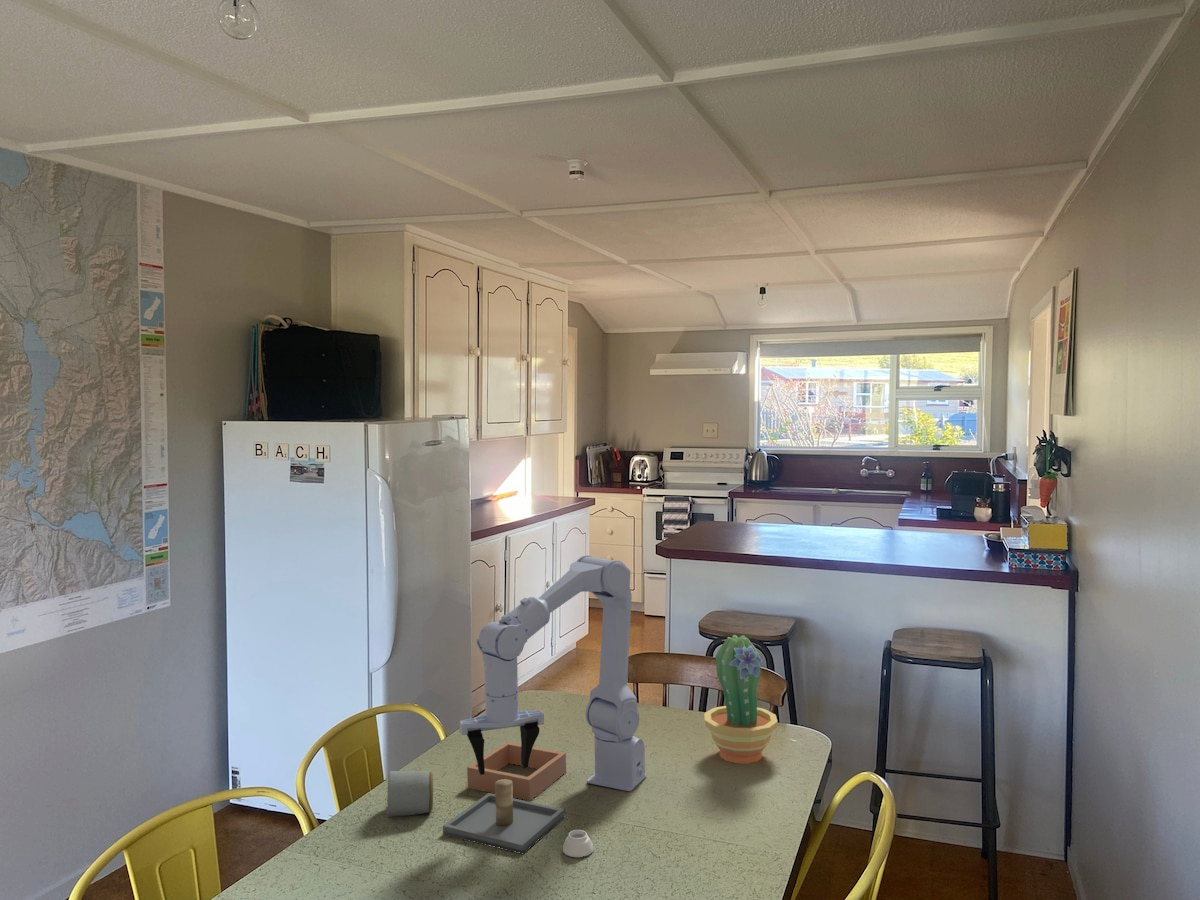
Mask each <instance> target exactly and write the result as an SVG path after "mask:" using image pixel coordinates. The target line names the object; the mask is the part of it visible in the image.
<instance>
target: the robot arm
mask: <svg viewBox="0 0 1200 900" xmlns="http://www.w3.org/2000/svg"><path fill="white" fill-rule="evenodd" d="M630 585H631V570H630V568H629V567H627V566H626V564H624V562H622V560H621V561H620V560H618V559H614V560H613V559H607V558H600V557H594V556H592V555H587V554H586V555H582V556H580V557H579V558H578V559H577V560H576V561H573V562H572V563H571V564H570V565H569V570H568V571H566V573H564V574H563V575H562V576H561V577H560V578H559V579H558V580H557V581H556V582H555V583H553V585H551V586H550V587H548V589H546V591H545V592H543V594H541V595H540V596H539V597H535V596H530V597H529V596H528V598H527V597H524V598H521V600H520V601H519V602H520V604H519V605H517V606H516V607H515V608H514V609H512V610H511V611H510V612H508V613H507V614H503V615H502V616H501V618H500V619H499V620H498V621H491V622H488V623H486V624H485V625H484V627H482V629H481V630H480V632H479V635H478V638H477V639H476V645H477V648H478V650H479V652H480V653H481V654H482V662H483V663H484V668H483V669H484V699H485V700H484V701H485V702H484V704H485V705H484V706H485V711H484V712H485V714H483V715H482V714H481V715H479V716H476V717H471V718H467V719H462V720H459V732H460V734H461V736H465V735H466V737H467V738H468V740H469V742H470V744H471V747H472V750H473V753H474V755H475V760H476V761H477V764H478V771H479V773H480V775H483V774H485V767H484V756H485V755H484V754H485V753H484V752H485V751H484V750H485V739H484V737H483V733H482V732H485V731H493V730H501V729H508V728H509V729H510V728H515V727H519V730H520V743H521V744H520V745H521V764H522V766H521V767H523V768H524V769H527V768H528V763H529V758H530V754H531V751H532V748H533V747H534V745H535V743H536V741H537V738H538V737H539V734H540V727H539V726H540V725H541V726H543V725H545V718H544V717H545V714H544V712H543V711H542V710H541V709H539V710H519V677H518V675H519V671H518V657H520V655H521V653H522V652H523V651H524V647H525V644H526V643H527V642H528V640H529V639H530V638H531V637H533V636H534V635H535V634H536V633H538V632H539V631H540V630H541V629H543V628H544V627H545V626H546V625H547V624H549V622H550V618H551V613H552V612H553V611H554V612H555V610H556V609H558V608H560V607H561V606H562V605H564V604H566V603H567V602H569V601H570V600H571V599H573V598H574V597H575V596H577V595H578V594H580V593H581V592H583V593H584V592H585V593H586V592H588V593H589V592H590V593H592V594H593V596H595V597H596V598H597V599H598V601H600V602H601V603H602V605H603V606H602V623H601V626H602V627H601V641H600V642H601V643H600V658H599V659H600V661H599V681H598V685H596V686H595V687H594V688H592V689H591V690H590V694H589V701H588V703H587V705H586V709H585V719H586V723H587V724H588V725H589V726H590V727H591V733H592V734H594V737H593V738H594V739H593V740H594V741H593V742H594V774H593V775H591V776H590V777H589V778H588V779H587V780H586V783H587V784H591V785H596V786H600V787H606V788H610V789H611V788H612V789H615V790H621V791H626V792H632V791H633V790H634V789H635V788H636V786H638V785H639V784H640V783H641V782H642V781H643V780H644V779H645V778H646V777H647V773H646V768H645V767H646V765H645V764H646V763H645V762H646V758H645V757H646V756H645V751H646V750H645V743H644V740H643V739H642V738H638V737H637V736H635V735H634V734H636V732H637V730H638V727H639V725H640V713H639V710H638V699H637V697H636V695H635V694H634V692H633V691H632V690H631V689H630V687H629V686H628V677H629V676H628V674H629V655H630V654H629V653H630V635H631V620H632V619H631V616H632V613H631V612H632V599H633V597H632V591H631V587H630Z"/></svg>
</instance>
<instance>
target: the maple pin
mask: <svg viewBox="0 0 1200 900" xmlns="http://www.w3.org/2000/svg"><path fill="white" fill-rule="evenodd" d="M495 801H496V824H497V825H498V826H509V825H511V824H512V823H513V786H512V781H511V780H509V779H501V780H498V781H496V782H495Z"/></svg>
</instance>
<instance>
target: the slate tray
mask: <svg viewBox="0 0 1200 900" xmlns="http://www.w3.org/2000/svg"><path fill="white" fill-rule="evenodd" d="M564 819H565V809H563V808H560V807H554V806H549V805H546V804H542V803H536V802H533V801H526V800H522V799H517V798H513V823H512V824H511V825H509V826H498V825H497V824H496V801H495V794H494V793H489V792H487V794H485V795H484V796H482V797H481V798H480V799H478V800H477V801H476V802H474V803H473V804H470V806H468V807H467V808H466V809H465V810H462V811H461V812H460V813H459V814H457V815H456V816H455V817H453V818H452V819H450V820H449V821H447V822H446V823H445V824H443V825H442V835H444V834H445V835H444V836H448V835H449V836H448V837H452V836H454V837H453V838H456V837H457V838H456V839H460V838H462V839H461V840H464V839H466V840H465V841H468V840H470V841H469V842H471V841H475V842H478V843H477V844H479V843H483V844H486V845H485V846H487V845H491V846H495V847H500V848H503V849H507V850H511V851H516V852H520V853H524V852H525V851H526V850H527V849H528V848H529V847H530V846H532V845H533V844H534V843H535V842H536V841H537V840H538V839H540V838H541V837H542V836H543V835H544V834H545V835H547V834H548V833H549V832H550V831H551V830H552V829H553V828H554V827H556V826H555V825H556V824H557V823H558V824H559V823H560V822H561V821H562V820H564ZM558 824H557V825H558ZM550 829H551V830H550ZM549 830H550V831H549ZM548 831H549V832H548ZM547 832H548V833H547ZM545 835H544V836H545ZM544 836H543V837H544ZM543 837H542V838H543ZM542 838H541V839H542ZM541 839H540V840H541ZM475 842H474V843H475ZM537 842H538V841H537ZM537 842H536V843H537ZM536 843H535V844H536ZM483 844H482V845H483ZM535 844H534V845H535ZM534 845H533V846H534ZM491 846H490V847H491ZM533 846H532V847H533ZM495 847H494V848H495ZM503 849H502V850H503ZM529 849H530V848H529ZM529 849H528V850H529ZM507 850H506V851H507ZM528 850H527V851H528ZM511 851H510V852H511ZM527 851H526V852H527ZM526 852H525V853H526ZM525 853H524V854H525Z"/></svg>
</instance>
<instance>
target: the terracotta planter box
mask: <svg viewBox="0 0 1200 900" xmlns="http://www.w3.org/2000/svg"><path fill="white" fill-rule="evenodd" d="M508 763H510V764H508ZM513 764H516V765H515V766H518V765H521V766H520V767H523V766H522V764H521V744H519V743H514V742H508V741H506V742H504V743H503V744H501V745H499V746H498V747H497V748H495V749H493V750H492V751H490V752H489V753H487V754H486V755H484V767H485V774H483V775H480V773H479V771H478V764H477V760H476V761H475V762H472V763H471V764H470V765H469V766H468V765H467V769H466V775H467V777H466V778H467V779H466V780H467V788H468V787H469V788H468V789H471V788H473V789H472V790H476V789H477V791H480V790H482V792H485V791H486V793H489V792H491V793H492V794H495V782H496V781H498V780H501V779H509V780H511V781H512V786H513V798H514V799H517V798H518V799H519V800H522V799H523V800H524V801H526V800H527V801H528V802H532V801H533V799H535V798H536V797H537V796H538V795H540V794H541V793H542V792H543V790H544V791H546V790H547V788H549V787H550V786H552V785H553V782H554V781H555V782H556V781H557V779H558V778H559V779H561V777H563V776H564V775H565V774H567V753H566V752H562V751H557V750H553V749H552V750H551V749H546V748H543V747H542V748H540V747H535V746H533V748H532V751H531V754H530V758H529V763H528V767H530V768H529V769H533V768H536V769H535V771H534V772H533V773H531V774H530V775H528V776H524V775H519V774H514V773H511V772H510V773H509V772H505V771H501V768H502V767H503V768H505V767H506V766H507V765H513ZM505 765H506V766H505ZM503 768H502V769H503ZM499 769H500V770H499ZM498 770H499V771H498ZM563 774H564V775H563ZM562 775H563V776H562ZM560 776H561V777H560ZM559 779H558V780H559ZM555 782H554V783H555ZM548 786H549V787H548ZM534 797H535V798H534Z"/></svg>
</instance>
